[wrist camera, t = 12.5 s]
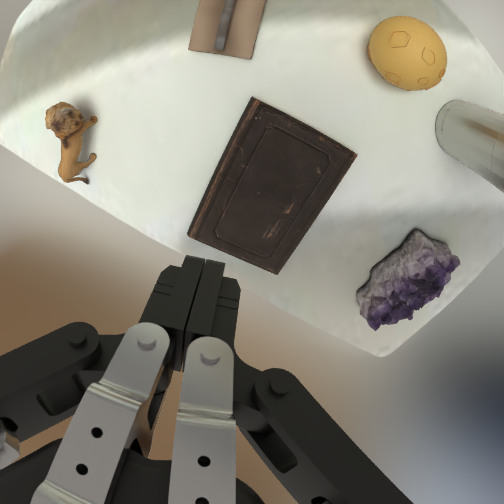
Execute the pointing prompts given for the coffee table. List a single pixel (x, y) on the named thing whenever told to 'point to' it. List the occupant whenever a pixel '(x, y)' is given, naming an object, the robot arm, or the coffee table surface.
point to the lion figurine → (69, 138)
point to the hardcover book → (268, 187)
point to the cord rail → (227, 27)
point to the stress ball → (408, 53)
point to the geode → (406, 280)
